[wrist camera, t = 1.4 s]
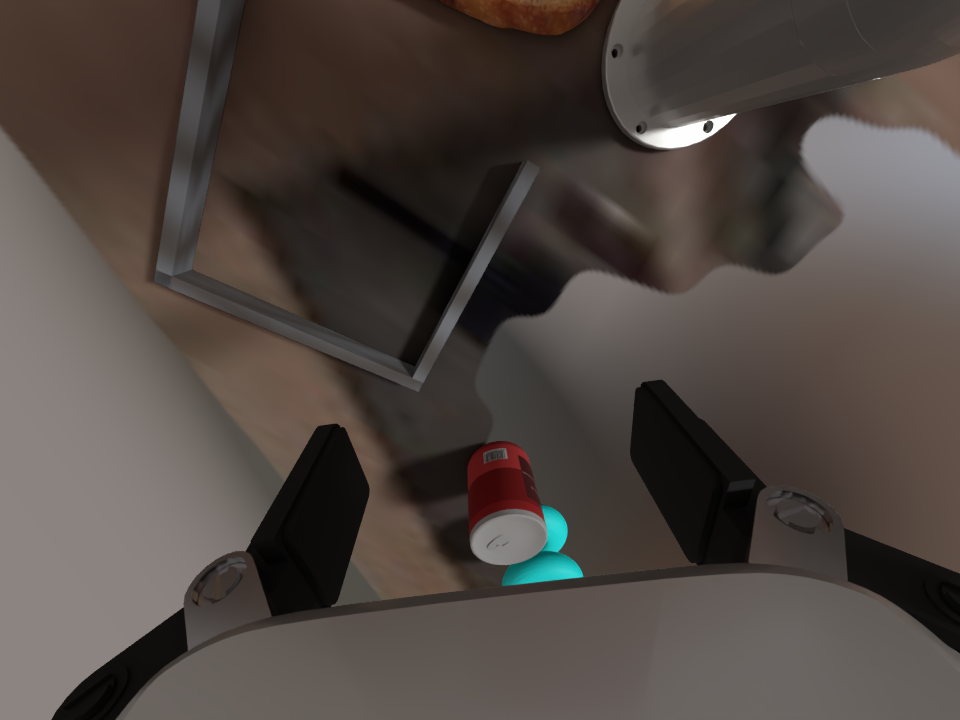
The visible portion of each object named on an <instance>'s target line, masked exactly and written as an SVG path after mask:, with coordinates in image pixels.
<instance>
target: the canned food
mask: <svg viewBox="0 0 960 720" xmlns="http://www.w3.org/2000/svg"><path fill="white" fill-rule="evenodd" d="M467 480H468V511H469V535H470V544H471V549H472V551H473V553H474V554H475V555H476V556H477V557H478V558H479V559H481V560H482V561H485V562H487V563H491V564H495V565H510V564H516V563H519V562H523V561H525V560H527V559H530V558H531V557H533V556H535V555H536V554H537V553H538V552H540V551H541V549H542V548H543V547H544V545H545V543H546V541H547V537H548V536H547V527H546V523H545V518H544V514H543V511H542V507H541V503H540V499H539V496H538V492H537V488H536V485H535V481H534V477H533V474H532V470H531V466H530V462H529V459H528V456H527V455H526V454H525V452H524V451H523V450H522V449H521V448H520V447H519V446H518V445H516V444H514V443H511V442H506V441H497V442H491V443H488V444H485V445H484V446H482V447H480V448H479V449H477V450H476V451H475V452H474V453H473V455H472V457H471V458H470V461H469V464H468V467H467Z"/></svg>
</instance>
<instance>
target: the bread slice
mask: <svg viewBox="0 0 960 720" xmlns="http://www.w3.org/2000/svg"><path fill="white" fill-rule="evenodd" d="M439 1H440V2H442V3H444V4H446V5H448V6H450V7H452V8H454V9H455V10H458V11H460V12H462V13H464V14H467V15H469V16H471V17H474V18H477V19H479V20H481V21H483V22H484V23H486V24H489V25H491V26H495V27H498V28H514V29H518V30H522V31H525V32H529V33H535V34H541V35H559V34H562V33H564V32H566V31H569V30H571V29H572V28H574V27H576V26H577V25H579V24H580V23H581V22H583V21H584V20H585V19H586V18H587V17H588V16H589V15H590V14H591V13H592V11H593V10H594V9H595V8H596V6H597V5H598V4H599V3H600V1H601V0H439Z"/></svg>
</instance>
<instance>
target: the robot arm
mask: <svg viewBox="0 0 960 720" xmlns="http://www.w3.org/2000/svg"><path fill="white" fill-rule="evenodd" d="M611 51H614V52H615V58H613V56H612V54H611ZM957 54H960V0H619V2H618V3H617V5H616V7H615V9H614V12H613V15H612V18H611V20H610V23H609V26H608V28H607V32H606V37H605V42H604V46H603V53H602V67H601V73H602V86H603V92H604V96H605V100H606V104H607V107H608V109H609V111H610V114H611V116H612V118H613V120H614V122H615V123H616V124H617V126H618V127H619V128H620V130H621V131H622V132H623V133H624V134H625V135H626V136H627V137H629V138H630V139H631V140H632V141H633V142H635V143H637V144H639V145H641V146H643V147H646V148H650V149H655V150H675V149H680V148H686V147H689V146H691V145H694V144H697V143H700V142H702V141H704V140H705V139H707V138H709V137H711V136H712V135H714V134H715V133H716V132H718V131H719V130H720V129H721V128H723V127H724V126H725V125H726V124H728V123H729V121H730V120H731V119H732V118H733V117H734V116H735V115H736V114H737V113H740V112H745V111H749V110H753V109H757V108H761V107H765V106H769V105H773V104H777V103H781V102H786V101H790V100H794V99H798V98H802V97H806V96H810V95H814V94H818V93H823V92H827V91H831V90H835V89H839V88H843V87H847V86H851V85H855V84H860V83H864V82H868V81H872V80H876V79H879V78H883V77H887V76H890V75H894V74H898V73H902V72H906V71H910V70H914V69H918V68H921V67H924V66H928V65H931V64H934V63H937V62H940V61H942V60H945V59H948V58H950V57H953V56H955V55H957ZM637 126H638V127H639V131H638V132H636V127H637ZM703 126H704V129H703ZM630 455H631V459H632V462H633V464H634V466H635V467H636V469H637V471H638V473H639V474H640V476H641V478H642V480H643V482H644V483H645V485H646V487H647V488H648V490H649V492H650V494H651V496H652V497H653V499H654V501H655V503H656V504H657V506H658V508H659V510H660V511H661V513H662V515H663V517H664V519H665V520H666V522H667V524H668V526H669V527H670V529H671V531H672V533H673V534H674V536H675V538H676V540H677V541H678V543H679V545H680V547H681V548H682V550H683V552H684V554H685V555H686V557H687V559H688V560H689V561H690V562H691V563H696V564H697V566H687V567H675V568H665V569H654V570H645V571H644V570H643V571H634V572H625V573H616V574H607V575H597V576H589V577H579V578H570V579H561V580H552V581H543V582H534V583H526V584H517V585H508V586H500V587H491V588H482V589H474V590H465V591H456V592H448V593H439V594H431V595H423V596H415V597H406V598H398V599H390V600H382V601H373V602H366V603H358V604H349V605H342V606H336V607H331V605H333V604H335V603H336V602H337V600H338V598H339V595H340V591H341V588H342V585H343V581H344V578H345V574H346V571H347V568H348V564H349V561H350V558H351V555H352V551H353V548H354V545H355V541H356V538H357V534H358V531H359V528H360V524H361V521H362V518H363V514H364V511H365V508H366V504H367V501H368V498H369V485H368V482H367V480H366V477H365V475H364V472H363V470H362V468H361V465H360V463H359V460H358V458H357V456H356V453H355V451H354V448H353V446H352V443H351V441H350V439H349V436H348V434H347V431H346V429H345V428H344V427H341V428H340V426H339V425H338V424H329V425H322V426H318V427H317V428H316V430H315V431H314V433H313V435H312V436H311V438H310V440H309V442H308V443H307V445H306V447H305V448H304V450H303V452H302V454H301V455H300V457H299V459H298V460H297V462H296V464H295V466H294V467H293V469H292V471H291V473H290V474H289V476H288V478H287V479H286V481H285V483H284V485H283V486H282V488H281V490H280V491H279V493H278V495H277V497H276V498H275V500H274V502H273V503H272V505H271V507H270V509H269V510H268V512H267V514H266V515H265V517H264V519H263V521H262V522H261V524H260V526H259V527H258V529H257V531H256V533H255V534H254V536H253V538H252V540H251V543H250V545H249V546H248V548H247V550H246V552H245V551H235V552H232V553H228V554H226V555H224V556H222V557H220V558H218V559H216V560H215V561H213V562H212V563H211V564H209V565H208V566H206V567H205V568H204V569H203V570H202V571H201V572H200V573H199V574H198V575H197V576H196V577H195V579H194V580H193V581H192V583H191V584H190V586H189V587H188V590H187V592H186V594H185V597H184V607H183V608H182V609H181V610H179V611H178V612H177V613H175V614H174V615H172V616H171V617H169V618H168V619H167V620H165V621H164V622H163V623H161V624H160V625H158V626H157V627H156V628H154V629H153V630H152V631H150V632H149V633H148V634H146V635H145V636H143V637H142V638H140V639H139V640H138V641H136V642H135V643H134V644H132V645H131V646H129V647H128V648H127V649H126V650H124V651H123V652H121V653H120V654H118V655H117V656H116V657H115V658H113V659H112V660H110V661H109V662H107V663H106V664H105V665H103V666H102V667H100V668H99V669H98V670H96V671H95V672H94V673H93V674H91V675H90V676H89V677H88V678H86V679H85V680H84V681H83V682H81V683H80V684H79V685H78V686H77V687H76V688H75V689H74V691H73V692H72V693H71V694H70V695H69V696H68V697H67V698H66V699H65V701H64V702H63V703H62V705H61V706H60V707H59V709H58V710H57V711H56V712H55V714H54V716H53V718H52V720H960V574H959V573H957V572H954V571H952V570H949V569H946V568H944V567H941V566H939V565H936V564H934V563H931V562H929V561H926V560H923V559H921V558H918V557H916V556H913V555H911V554H908V553H906V552H903V551H901V550H898V549H896V548H893V547H891V546H888V545H885V544H883V543H880V542H878V541H875V540H873V539H870V538H868V537H865V536H863V535H860V534H858V533H855V532H852V531H850V530H847V529H845V528H844V527H843V523H842V520H841V518H840V516H839V515H838V514H837V513H836V511H835V510H834V509H833V508H832V507H831V506H829V505H828V504H827V503H826V502H825V501H823V500H822V499H820V498H818V497H817V496H815V495H813V494H811V493H809V492H806V491H804V490H801V489H798V488H794V487H790V486H782V485H774V486H769V487H766V486H765V485H764V484H763V482H762V481H761V480H760V479H759V478H758V477H757V476H756V475H755V474H754V473H753V472H752V471H751V470H750V469H749V468H748V467H747V465H745V463H744V462H743V461H742V460H741V459H740V458H739V457H738V456H737V455H736V454H735V453H734V452H733V451H732V450H731V449H730V447H729V446H727V444H726V443H725V442H724V441H723V440H722V439H721V438H720V437H719V436H718V435H717V434H716V433H715V432H714V431H713V430H712V428H711V427H710V426H708V424H707V423H705V421H703V420H702V419H700V418H698V417H697V416H696V415H695V414H694V412H693V411H692V410H691V409H690V408H689V407H688V406H687V405H686V404H685V403H684V402H683V401H682V400H681V399H680V397H679V396H678V395H677V394H676V393H675V392H674V391H673V390H672V389H671V388H670V387H669V386H668V385H667V384H666V382H664V381H663V380H656V381H648V382H643V383H642V384H641V387H638V388H637V389H636V391H635V401H634V412H633V424H632V435H631V447H630Z"/></svg>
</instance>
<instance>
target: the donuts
mask: <svg viewBox="0 0 960 720" xmlns="http://www.w3.org/2000/svg"><path fill="white" fill-rule="evenodd" d="M541 507H542V511H543V514H544V518H545V523H546V527H547V536H548V537H547V541H546V543H545V545H544V547H543V548H542V549H541V551H540V552H538V553H537V554H536V555H535V556H533V557H531V558H530V559H527V560H525V561H523V562H519V563H516V564H511V565H510V566H509V568H508V569H507V571H506V572H505V574H504V577H503V580H502V586H508V585H517V584H526V583H534V582H543V581H552V580H561V579H570V578H579V577H583V574H582V571H581V569H580V568H579V566H578V565H577V564H576V562H574V561H573V560H572V559H571V558H569V557H568V556H566V555H564V554H561V553H558V551H559V550H560V549H561V548H562V546H563V545H564V543H565V541H566V538H567V524H566V522H565V520H564V518H563V516H562V515H561V514H560V513H559V512H558V511H557V510H555V509H554V508H552V507H549V506H546V505H542V504H541Z"/></svg>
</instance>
